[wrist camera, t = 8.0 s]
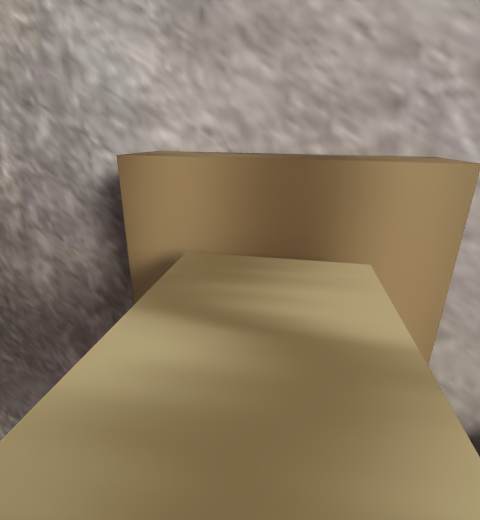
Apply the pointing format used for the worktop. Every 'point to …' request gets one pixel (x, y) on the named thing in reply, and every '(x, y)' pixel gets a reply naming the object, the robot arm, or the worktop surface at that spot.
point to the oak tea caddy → (246, 408)
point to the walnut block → (304, 217)
